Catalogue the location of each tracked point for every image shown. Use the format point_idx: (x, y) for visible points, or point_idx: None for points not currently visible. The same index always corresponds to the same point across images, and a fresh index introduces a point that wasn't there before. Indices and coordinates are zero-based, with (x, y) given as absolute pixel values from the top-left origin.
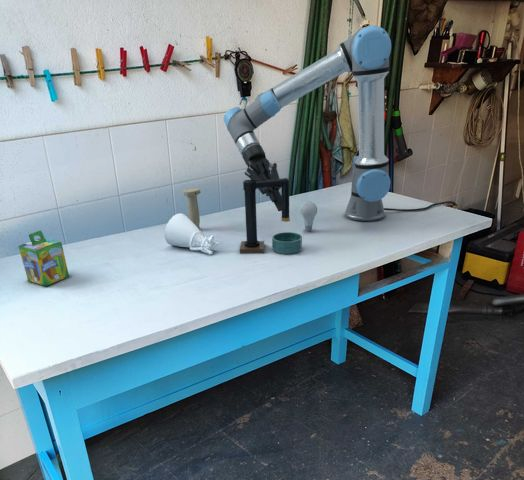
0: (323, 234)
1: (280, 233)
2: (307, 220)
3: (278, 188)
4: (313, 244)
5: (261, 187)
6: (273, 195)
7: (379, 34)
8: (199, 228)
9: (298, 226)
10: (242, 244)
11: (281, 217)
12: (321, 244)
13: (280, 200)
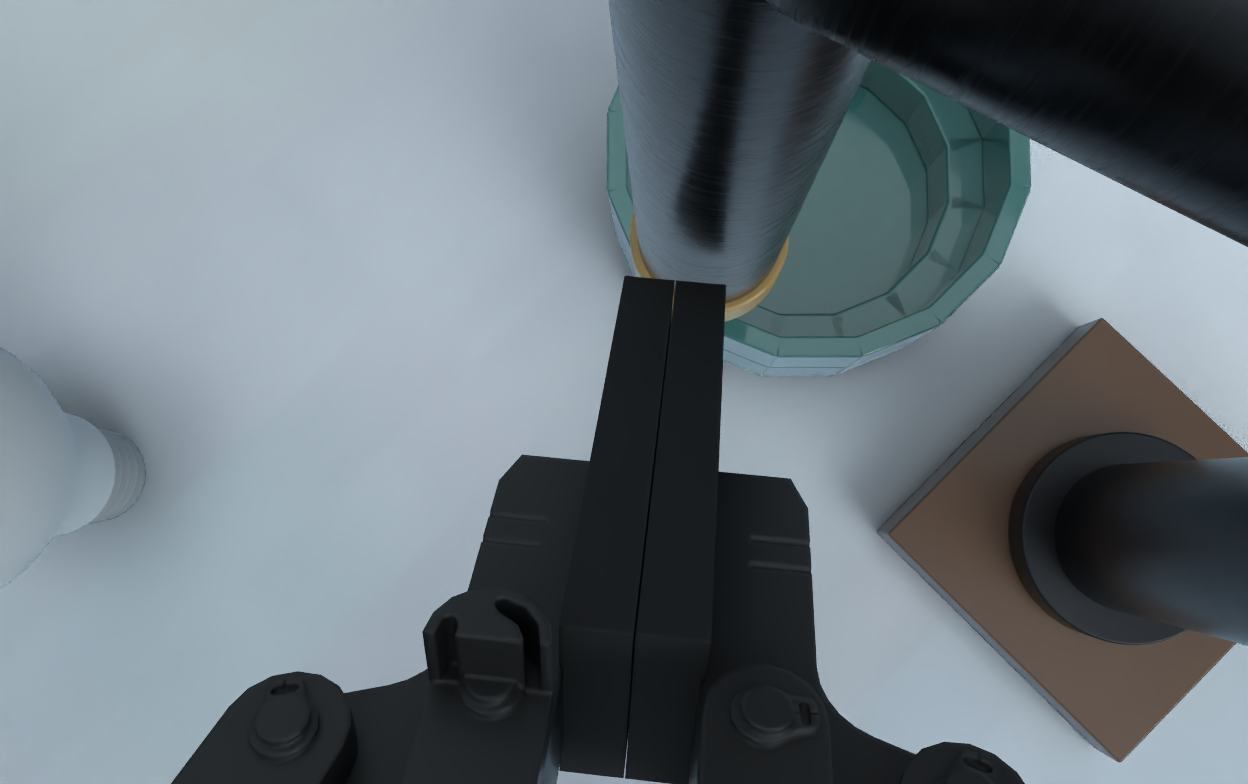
0: (86, 258)
1: (767, 332)
2: (76, 436)
3: (508, 593)
4: (443, 104)
5: None
6: (744, 578)
7: None
8: None
9: (39, 725)
10: (1192, 651)
11: (778, 272)
12: (381, 38)
13: (665, 378)
